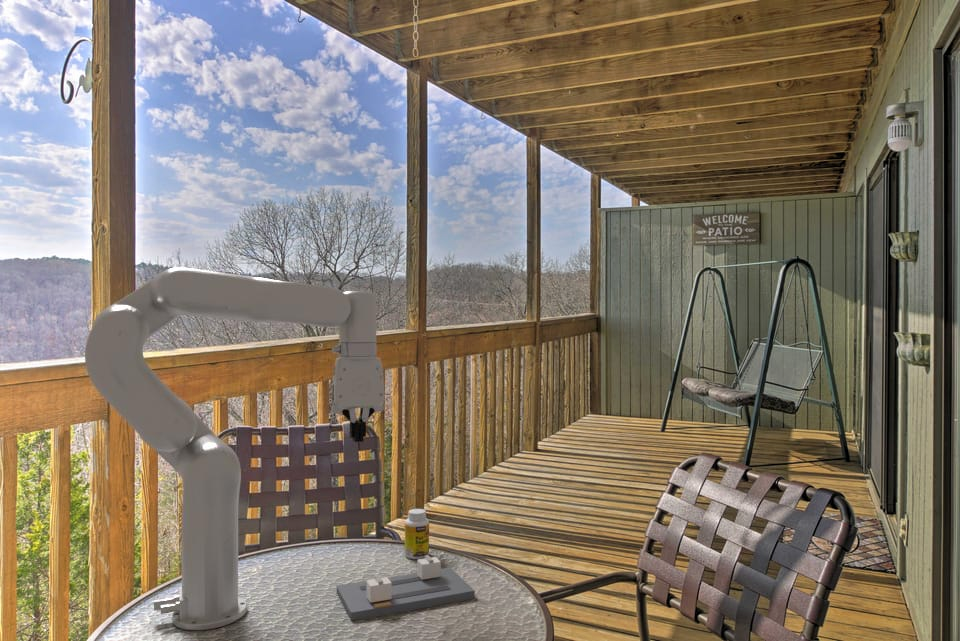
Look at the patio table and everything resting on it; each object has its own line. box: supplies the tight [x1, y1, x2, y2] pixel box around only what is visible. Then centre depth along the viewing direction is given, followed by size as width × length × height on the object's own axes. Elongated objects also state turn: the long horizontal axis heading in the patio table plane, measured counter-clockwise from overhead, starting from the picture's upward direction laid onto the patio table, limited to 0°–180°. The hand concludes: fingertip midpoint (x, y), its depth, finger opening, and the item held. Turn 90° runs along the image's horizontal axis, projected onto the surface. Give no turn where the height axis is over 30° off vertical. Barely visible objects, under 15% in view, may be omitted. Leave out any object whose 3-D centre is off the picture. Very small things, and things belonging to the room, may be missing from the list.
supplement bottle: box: [404, 508, 430, 560], centre depth 150 cm, size 6×6×10 cm
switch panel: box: [336, 567, 476, 622], centre depth 128 cm, size 24×13×2 cm, turn 114°
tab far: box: [416, 554, 442, 580], centre depth 133 cm, size 4×3×4 cm
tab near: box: [365, 574, 392, 603], centre depth 123 cm, size 4×3×4 cm
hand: (357, 440), depth 134 cm, fingers closed
